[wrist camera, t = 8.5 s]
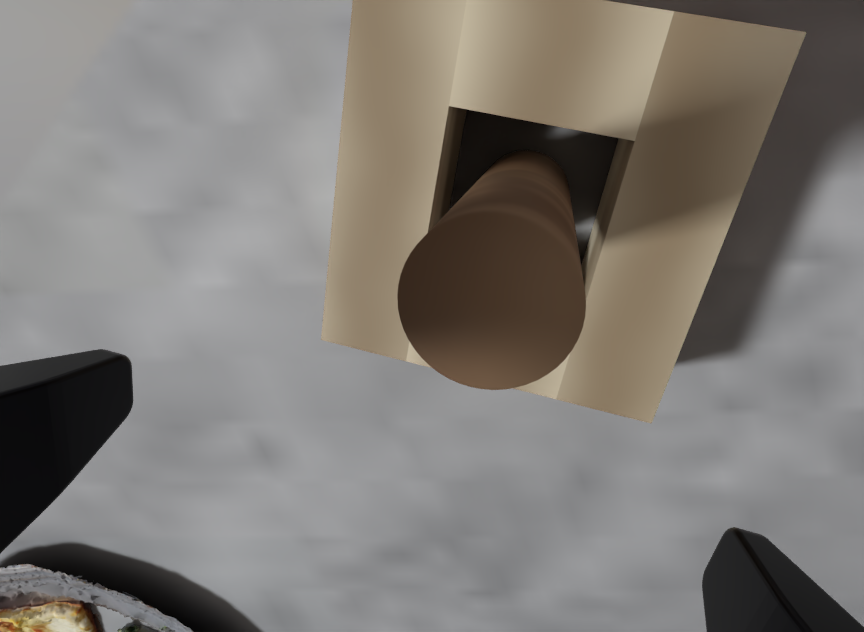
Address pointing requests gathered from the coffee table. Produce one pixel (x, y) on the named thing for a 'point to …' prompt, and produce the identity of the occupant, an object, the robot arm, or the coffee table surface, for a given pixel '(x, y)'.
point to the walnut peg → (498, 279)
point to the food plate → (68, 604)
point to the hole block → (569, 108)
